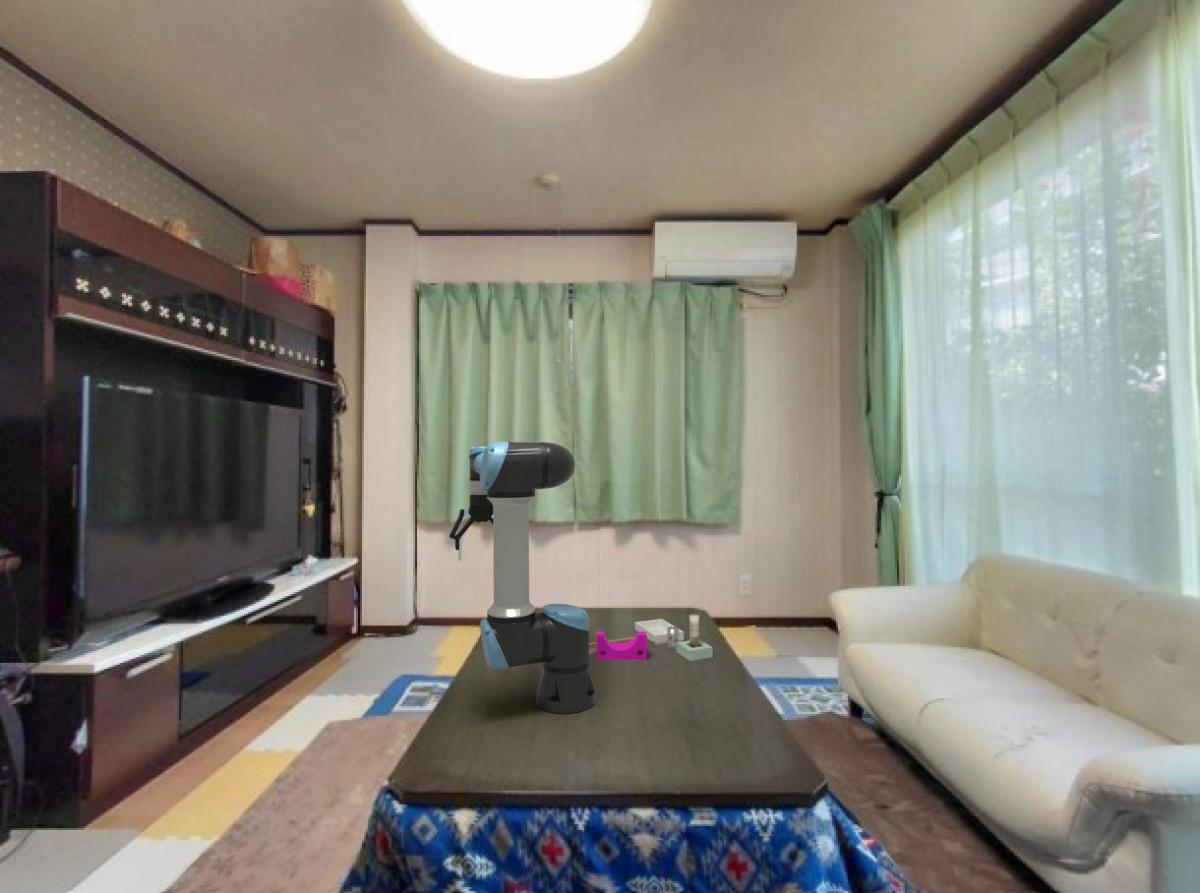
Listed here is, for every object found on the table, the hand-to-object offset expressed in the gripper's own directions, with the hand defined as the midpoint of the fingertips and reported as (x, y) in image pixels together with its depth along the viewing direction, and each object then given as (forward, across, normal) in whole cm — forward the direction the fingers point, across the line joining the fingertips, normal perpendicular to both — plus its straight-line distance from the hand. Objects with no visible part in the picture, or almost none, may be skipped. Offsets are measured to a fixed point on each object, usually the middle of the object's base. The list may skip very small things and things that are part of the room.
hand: (481, 558), depth 179 cm
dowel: (+28, -59, +34) cm, 74 cm away
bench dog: (+28, -56, +26) cm, 68 cm away
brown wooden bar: (+28, -38, +21) cm, 52 cm away
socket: (+28, -59, +34) cm, 74 cm away
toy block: (+28, -38, +26) cm, 55 cm away
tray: (+28, -57, +14) cm, 65 cm away
